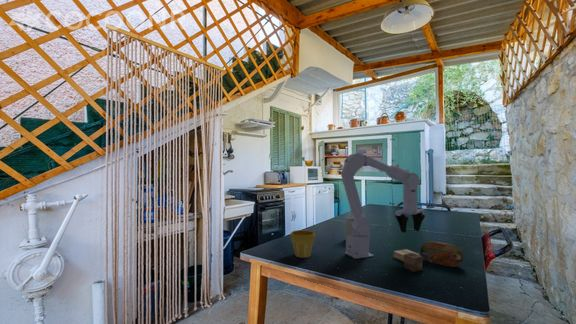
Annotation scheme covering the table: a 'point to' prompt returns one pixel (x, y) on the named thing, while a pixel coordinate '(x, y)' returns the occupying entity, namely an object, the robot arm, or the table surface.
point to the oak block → (402, 254)
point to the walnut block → (413, 262)
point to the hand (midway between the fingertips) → (410, 231)
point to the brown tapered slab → (442, 253)
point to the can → (348, 227)
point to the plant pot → (302, 242)
